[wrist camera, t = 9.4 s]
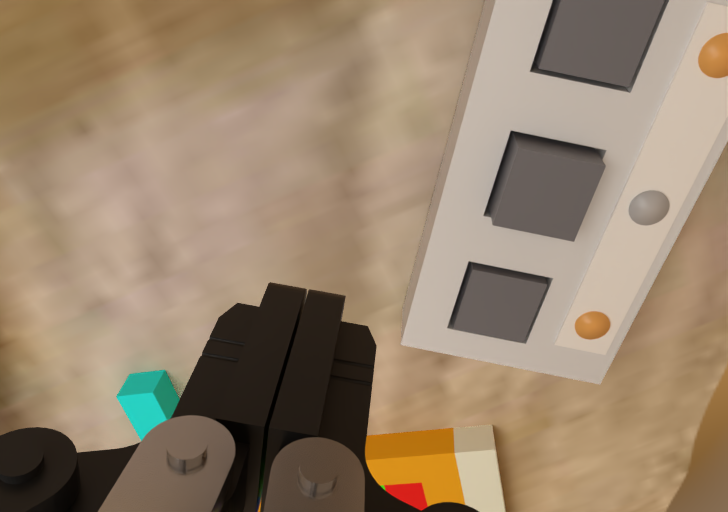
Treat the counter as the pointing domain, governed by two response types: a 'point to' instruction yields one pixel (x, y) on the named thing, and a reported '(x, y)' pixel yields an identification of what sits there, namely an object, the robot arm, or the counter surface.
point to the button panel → (610, 201)
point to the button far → (497, 301)
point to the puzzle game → (373, 452)
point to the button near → (597, 38)
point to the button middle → (544, 186)
